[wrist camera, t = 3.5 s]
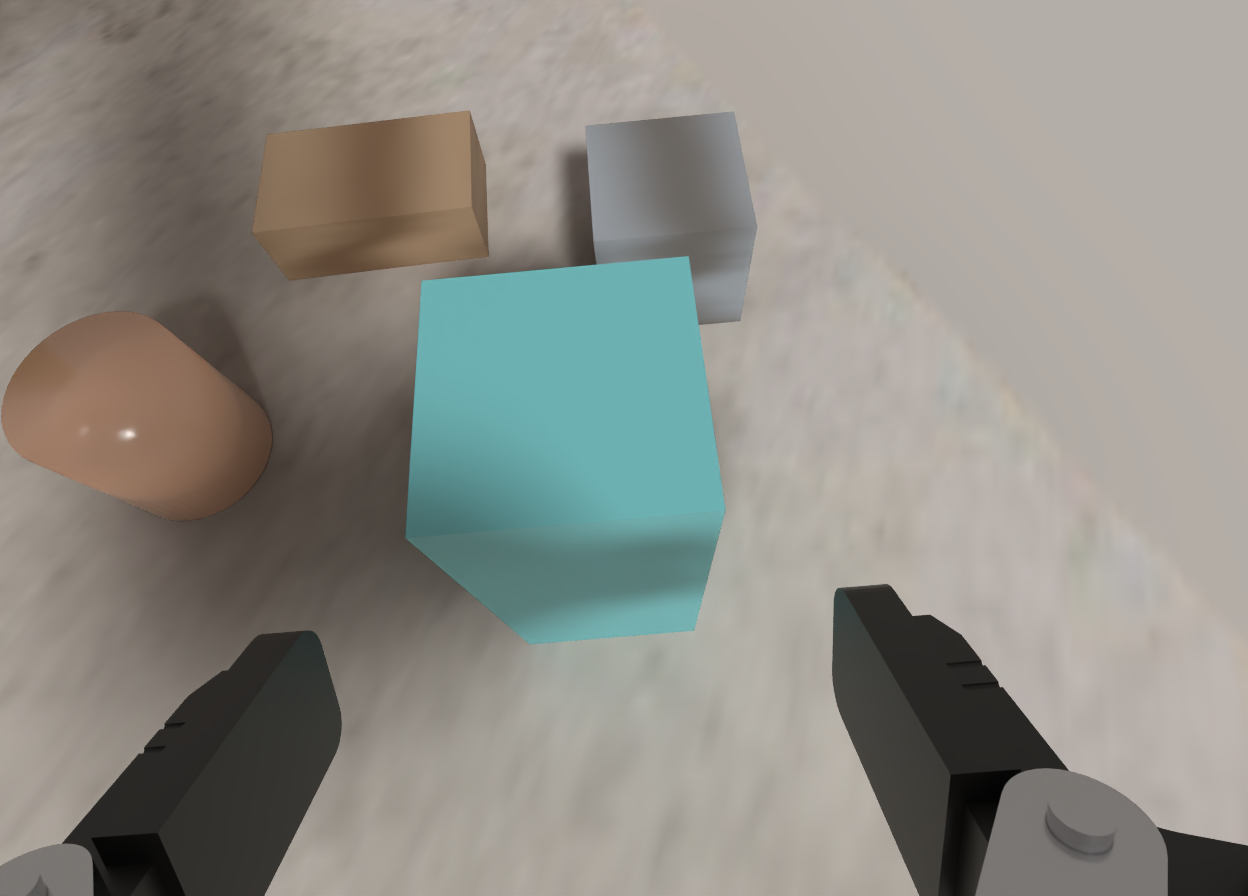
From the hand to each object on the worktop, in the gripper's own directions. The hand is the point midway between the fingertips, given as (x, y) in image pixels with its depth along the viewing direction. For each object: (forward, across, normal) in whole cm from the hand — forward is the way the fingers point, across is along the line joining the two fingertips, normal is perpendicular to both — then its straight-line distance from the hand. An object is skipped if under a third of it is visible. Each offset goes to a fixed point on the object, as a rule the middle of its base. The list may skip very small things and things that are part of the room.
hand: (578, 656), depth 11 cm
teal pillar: (+10, 0, +4) cm, 11 cm away
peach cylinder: (+14, +14, 0) cm, 20 cm away
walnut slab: (+21, +8, -6) cm, 23 cm away
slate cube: (+18, -3, -4) cm, 19 cm away
